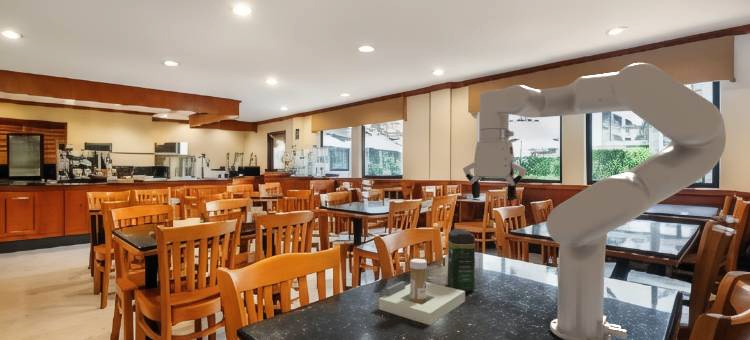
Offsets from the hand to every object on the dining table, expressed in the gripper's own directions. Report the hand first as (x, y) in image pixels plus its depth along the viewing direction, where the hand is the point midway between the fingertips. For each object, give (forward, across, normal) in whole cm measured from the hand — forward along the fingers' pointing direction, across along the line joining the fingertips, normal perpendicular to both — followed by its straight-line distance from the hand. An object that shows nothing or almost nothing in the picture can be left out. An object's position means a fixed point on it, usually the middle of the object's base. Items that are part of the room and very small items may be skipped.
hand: (493, 198), depth 104 cm
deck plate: (+30, +16, +10) cm, 36 cm away
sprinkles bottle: (+31, +16, +13) cm, 37 cm away
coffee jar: (+31, +14, -10) cm, 35 cm away
